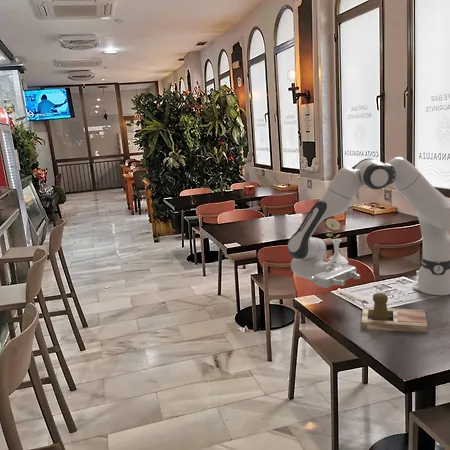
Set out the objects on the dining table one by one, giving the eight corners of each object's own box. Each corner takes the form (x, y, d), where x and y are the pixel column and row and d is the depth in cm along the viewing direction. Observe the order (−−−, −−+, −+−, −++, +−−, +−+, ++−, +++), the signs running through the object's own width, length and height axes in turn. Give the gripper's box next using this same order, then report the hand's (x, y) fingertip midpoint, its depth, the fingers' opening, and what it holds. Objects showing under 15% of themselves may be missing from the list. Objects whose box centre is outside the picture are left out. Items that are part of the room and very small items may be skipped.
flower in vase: (353, 265, 234) (351, 218, 228) (337, 270, 228) (335, 222, 223) (334, 260, 245) (333, 215, 239) (319, 265, 239) (317, 219, 234)
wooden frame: (363, 312, 178) (363, 306, 177) (424, 316, 171) (424, 309, 170) (361, 328, 165) (361, 321, 165) (427, 332, 158) (427, 325, 157)
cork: (385, 317, 172) (385, 290, 170) (391, 324, 167) (391, 296, 164) (369, 318, 172) (369, 291, 170) (375, 325, 166) (375, 297, 164)
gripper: (306, 271, 180) (334, 279, 169) (339, 259, 192) (367, 266, 181) (307, 286, 181) (334, 295, 170) (339, 273, 193) (367, 281, 182)
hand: (351, 280), depth 176 cm, fingers open, 8 cm apart
